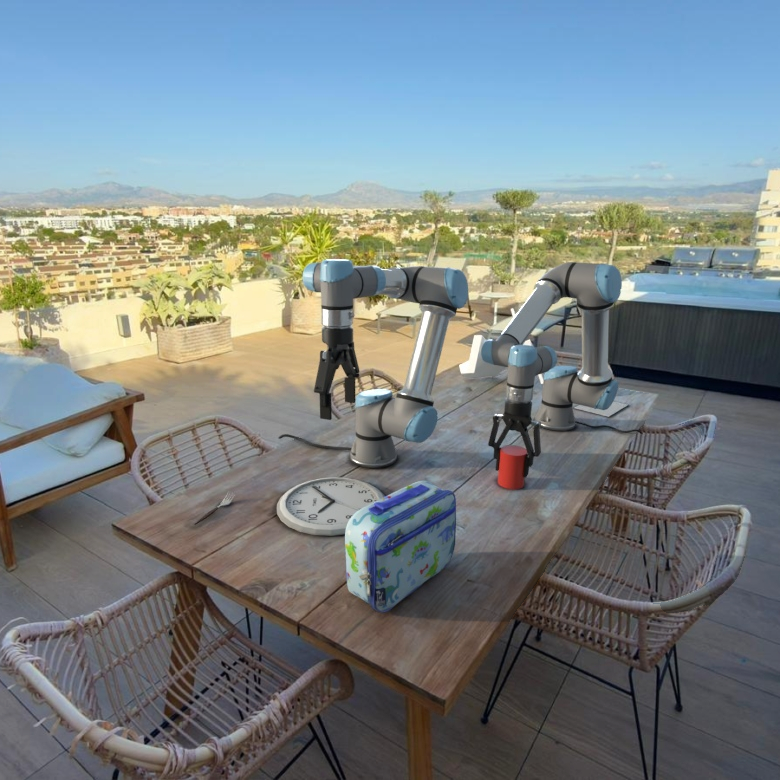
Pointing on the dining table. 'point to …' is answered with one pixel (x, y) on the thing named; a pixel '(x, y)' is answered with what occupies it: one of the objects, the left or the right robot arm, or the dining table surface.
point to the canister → (512, 467)
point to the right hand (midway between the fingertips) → (511, 472)
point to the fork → (223, 503)
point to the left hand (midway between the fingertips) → (338, 410)
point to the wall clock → (325, 504)
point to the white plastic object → (481, 368)
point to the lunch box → (399, 543)
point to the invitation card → (608, 412)
